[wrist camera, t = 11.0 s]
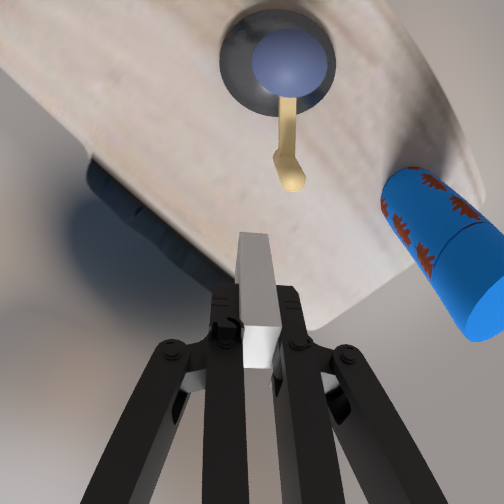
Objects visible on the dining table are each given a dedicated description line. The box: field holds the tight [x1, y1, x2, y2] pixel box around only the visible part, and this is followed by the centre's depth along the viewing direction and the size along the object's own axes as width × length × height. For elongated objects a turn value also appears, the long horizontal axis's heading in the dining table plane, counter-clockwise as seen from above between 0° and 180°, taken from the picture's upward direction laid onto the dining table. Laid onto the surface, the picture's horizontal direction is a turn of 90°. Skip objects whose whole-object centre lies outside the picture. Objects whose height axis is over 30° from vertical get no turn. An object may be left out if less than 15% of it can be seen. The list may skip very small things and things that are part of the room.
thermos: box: [381, 167, 504, 342], centre depth 34 cm, size 11×11×25 cm
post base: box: [219, 10, 336, 117], centre depth 31 cm, size 14×14×6 cm
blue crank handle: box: [251, 28, 327, 192], centre depth 28 cm, size 16×7×7 cm, turn 1°
